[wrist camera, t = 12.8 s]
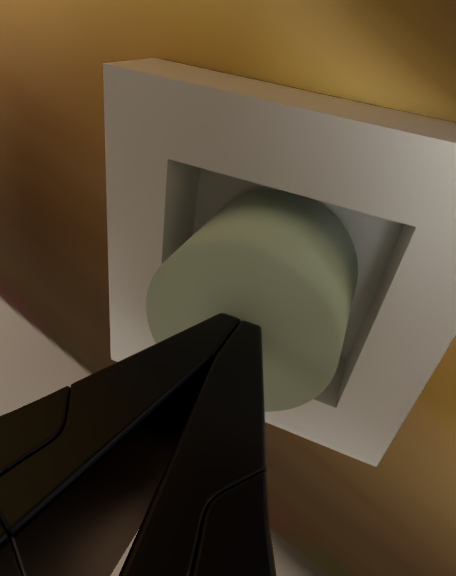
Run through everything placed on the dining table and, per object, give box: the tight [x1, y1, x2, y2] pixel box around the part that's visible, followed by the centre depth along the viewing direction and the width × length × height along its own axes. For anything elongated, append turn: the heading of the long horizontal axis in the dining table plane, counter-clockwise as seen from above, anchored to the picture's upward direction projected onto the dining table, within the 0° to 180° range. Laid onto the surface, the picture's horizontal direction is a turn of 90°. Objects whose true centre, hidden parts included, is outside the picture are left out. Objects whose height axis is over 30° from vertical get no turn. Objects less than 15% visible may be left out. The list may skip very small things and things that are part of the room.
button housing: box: [103, 58, 456, 467], centre depth 10 cm, size 8×8×2 cm
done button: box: [146, 189, 358, 412], centre depth 9 cm, size 4×4×3 cm
